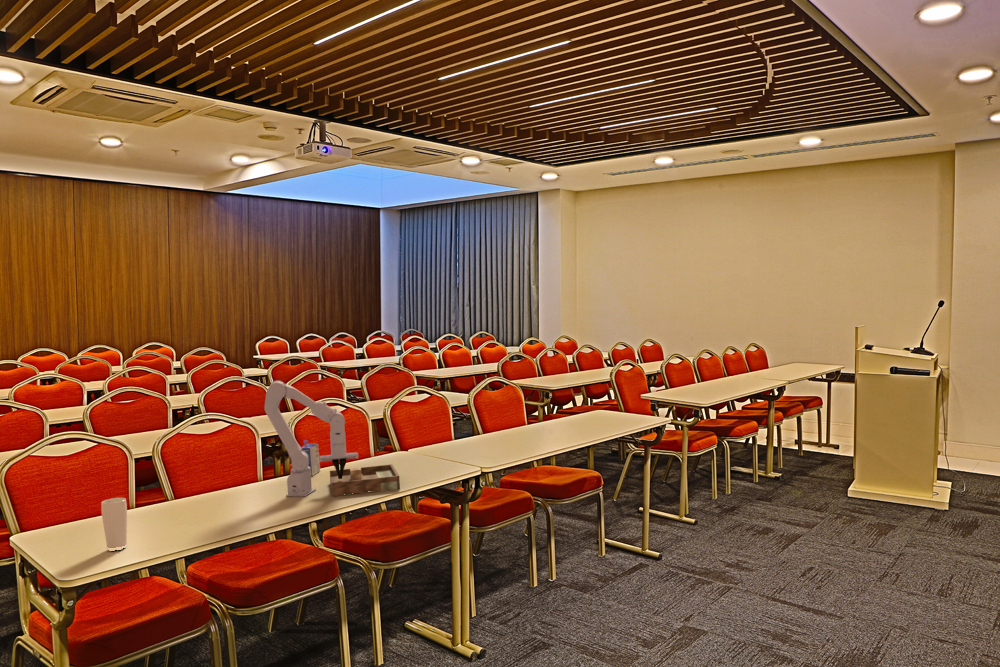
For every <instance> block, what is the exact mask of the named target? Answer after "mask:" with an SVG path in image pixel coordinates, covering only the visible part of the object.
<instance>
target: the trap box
mask: <svg viewBox="0 0 1000 667" xmlns="http://www.w3.org/2000/svg"><path fill="white" fill-rule="evenodd" d="M360 468H361V476H362V480H354V481H351V478H350V469H351V468H344V470H343V475H342V479H338V474H337V471H336V469H334V470H329V479H330V480H329V483H330V488H331V493H332V494H333V495H332V494H331V495H332V497H333V496H334V497H339V496H338V495H343V496H345V495H344V494H351V495H353V494H352V493H360V494H362V493H361V492H368V491H378V492H383V491H382V490H386V491H395V490H400V489H401V484H400V483H401V482H400V475H399V473H398V471H397V470H396V468H395V466H394V465H393V463H391V464H382V465H381V464H380V465H374V466H372V465H371V466H364V467H363V466H362V467H361V466H360ZM339 471H340V469H339Z"/></svg>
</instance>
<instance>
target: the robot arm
mask: <svg viewBox="0 0 1000 667" xmlns="http://www.w3.org/2000/svg"><path fill="white" fill-rule="evenodd" d="M284 397H285V398H284ZM282 399H285V400H286V399H287V400H288V399H289V400H292V399H293V400H295V401H296V402H298V403H300V404H302V405H303V406H305V407H307V408H309V409H310V411H311V414H312V415H314V416H315V417H316V418H318V419H320V420H322V421H324V422H325V423H329V426H330V431H329V436H330V437H329V438H330V440H329V441H330V454H327V455H319V462H320V463H323V462H330V461H331V463H332V464H333V467H334V470H336V471H337V474H338V479H342V475H343V470H344V469H345V467H346V464H347V463H348V462H347V460H350V459H351V460H352V459H359V453H358V452H347V444H346V442H347V440H346V439H347V438H346V430H345V429H346V428H345V424H346V419H345V417H344V415H343V414H342V413H341V412H340V411H338V409H336V408H332V407H331V406H329V405H327V402H326V401H320V400H319V401H315V400H313V399H312V398H310V397H309V396H307V395H306V394H304V393H303V392H301V391H300V390H299V389H297V388H295V387H294V386H292V385H290V384H287V383H285V382H283V381H282V380H273V381H272V382H271V383H270V385H269V386H268V389H267V390H266V393H265V400H264V407H263V409H264V411H265V414H266V416H267V417H268V419H269V421H270V422H271V424H272V426H273V428H274V430H275V432H276V433H277V435H278V437H279V438H280V441H281V442H282V444H283V445H284V448H285V449H286V451H287V454H288V457H289V458H290V460H291V467H292V468H291V469H290V474H289V475H288V477H287V479H286V483H287V484H286V486H287V494H285V496H286V497H306V496H309V495H310V494H312V493H314V492H316V490H317V489H316V488H312V476H311V469H310V467H309V466H308V465H309V460H308V459H309V457H308V454H307V453H306V452H305V451H303V450H302V449H301V447H302V446H301V445H300V444H299V443H298V441H297V439H296V438H295V436H294V434H293V432H292V431H291V428H290V426H289V425H288V423H287V422H286V420H285V418H284V416H283V414H282V413H281V411H280V409H279V406H280V404H281V401H282ZM339 470H340V471H339Z"/></svg>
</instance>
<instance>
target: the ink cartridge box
mask: <svg viewBox="0 0 1000 667" xmlns="http://www.w3.org/2000/svg"><path fill="white" fill-rule="evenodd" d="M303 444H304V445H303V446H300V447H301V449H302V450H303V451H305V452H306V453H307V454H308V457H309V459H308V460H309V465H308V466H309V467H310V469H311V477H313V476H315V475H316V474H318V473H319V472H320V471H321V465H320V463H321V462H320V452H319V451H320V450H319V443H309V441H308V440H307V439H305V440H303Z"/></svg>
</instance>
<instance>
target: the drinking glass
mask: <svg viewBox="0 0 1000 667" xmlns="http://www.w3.org/2000/svg"><path fill="white" fill-rule="evenodd" d="M127 504H128V503H127V499H126V497H113V498H108V499H105V500H102V501H101V504H100V508H101V509H100V510H101V519H102V525H103V529H104V530H103V531H104V536H105V542H106V548H107V547H108V548H116V547H122V546H125V545H126V544H127V545H128V542H127V540H128V539H127V538H128V536H127V534H128V530H127V527H128V507H127V506H128V505H127Z"/></svg>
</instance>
